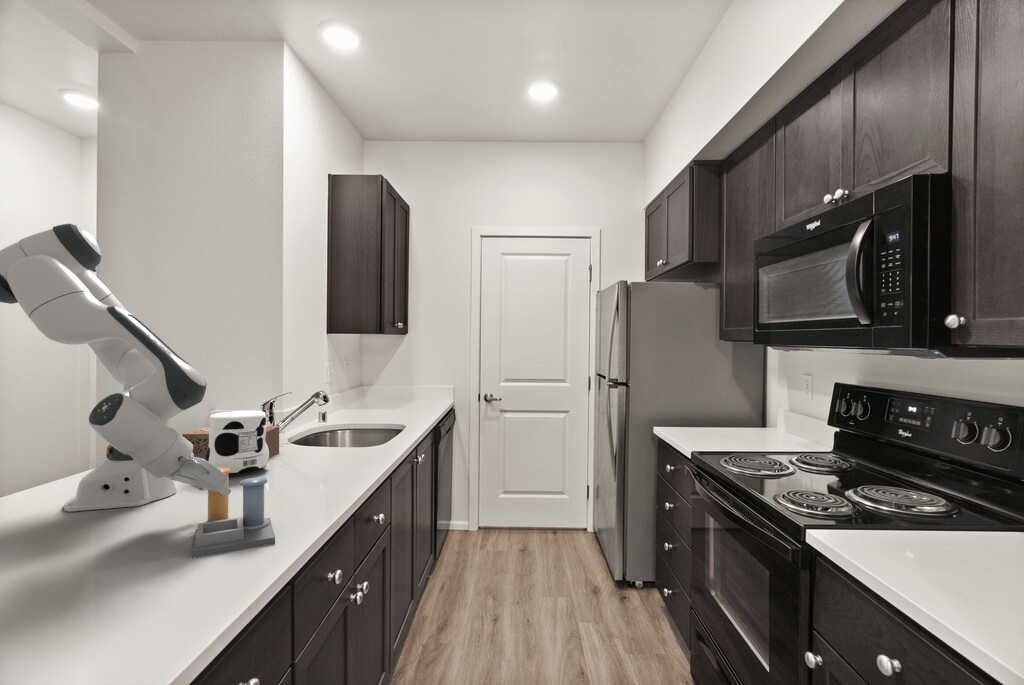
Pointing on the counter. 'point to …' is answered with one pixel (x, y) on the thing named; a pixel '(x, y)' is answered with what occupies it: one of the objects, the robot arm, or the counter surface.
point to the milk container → (238, 441)
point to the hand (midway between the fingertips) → (215, 490)
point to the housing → (237, 525)
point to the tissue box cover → (202, 441)
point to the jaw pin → (218, 503)
